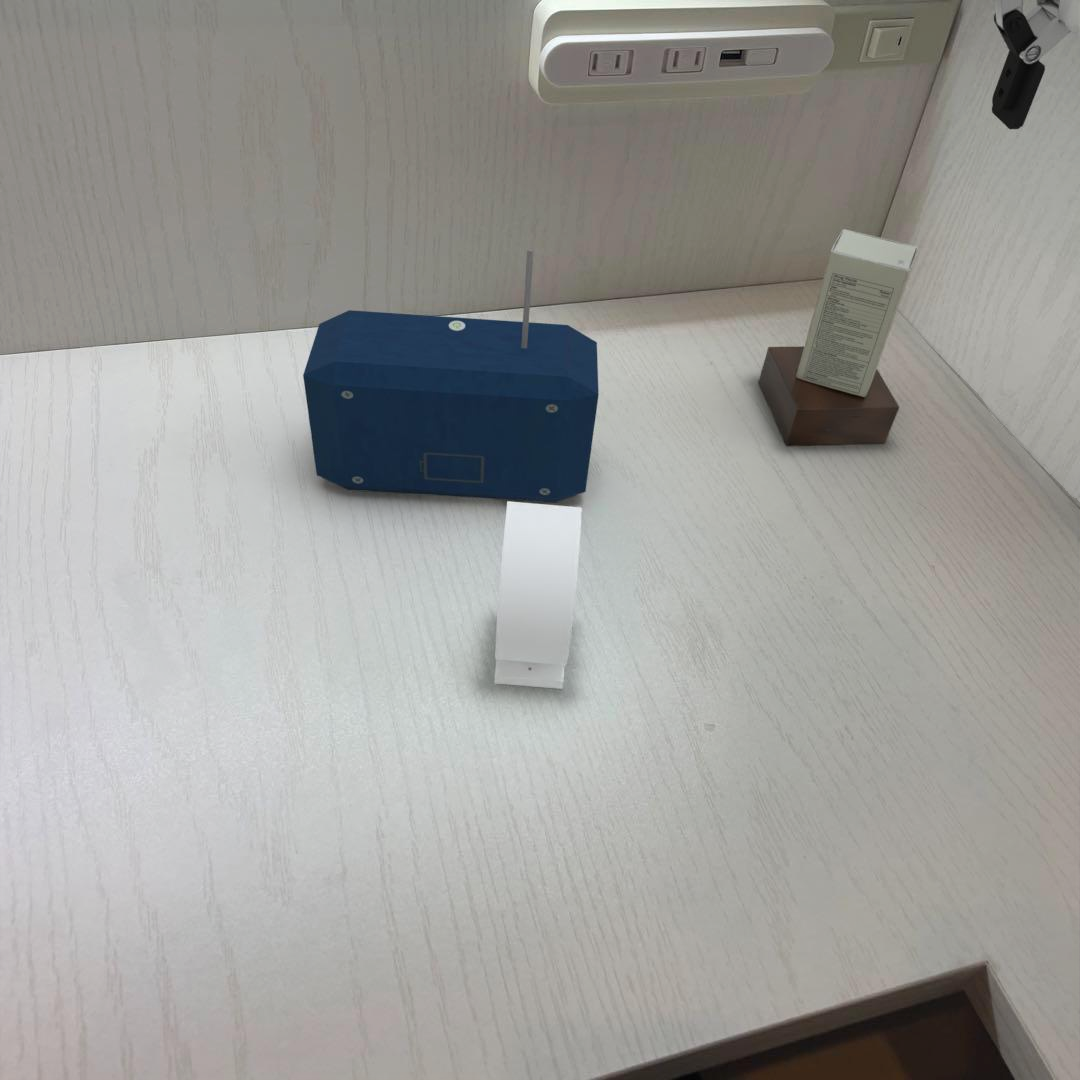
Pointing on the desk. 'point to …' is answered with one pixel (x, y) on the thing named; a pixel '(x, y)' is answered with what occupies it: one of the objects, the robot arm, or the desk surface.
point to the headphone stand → (537, 594)
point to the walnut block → (823, 405)
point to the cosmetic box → (855, 311)
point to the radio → (453, 405)
